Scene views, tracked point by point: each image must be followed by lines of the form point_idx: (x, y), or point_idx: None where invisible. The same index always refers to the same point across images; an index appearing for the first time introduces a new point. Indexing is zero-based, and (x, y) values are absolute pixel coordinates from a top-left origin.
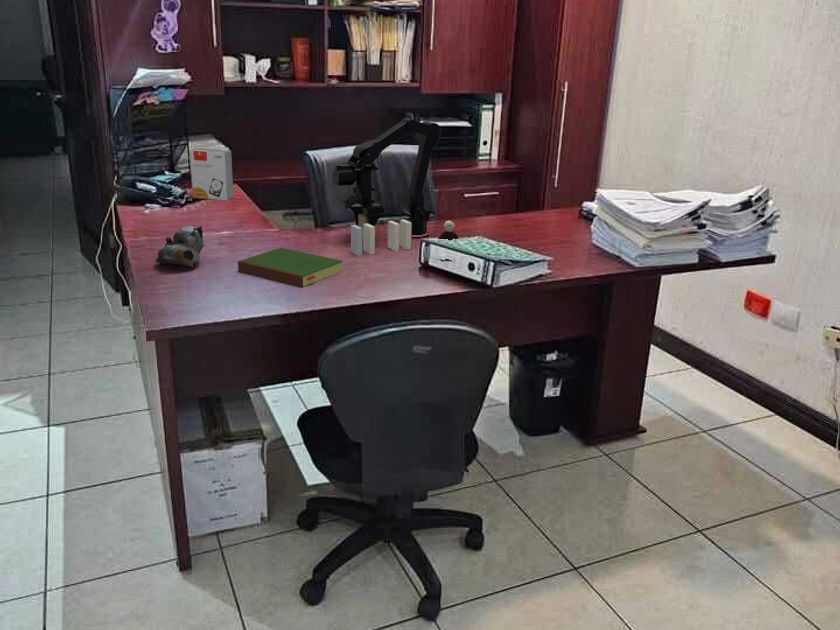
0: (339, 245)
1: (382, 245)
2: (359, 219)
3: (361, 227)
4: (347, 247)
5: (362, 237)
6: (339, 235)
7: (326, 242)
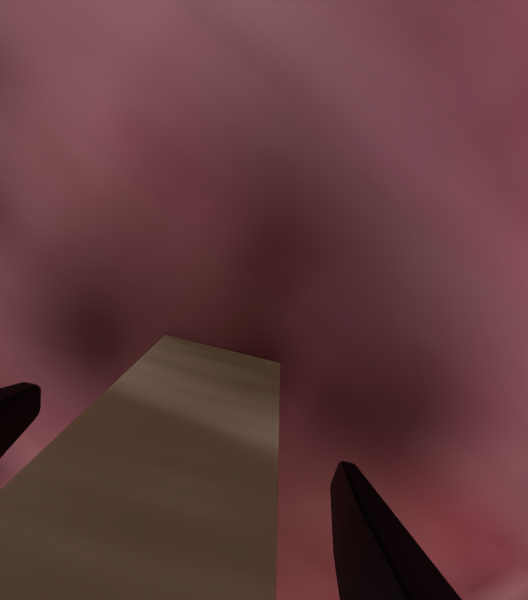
0: (234, 105)
1: (51, 391)
2: (223, 558)
3: (182, 432)
4: (133, 126)
5: (194, 362)
6: (503, 335)
7: (413, 59)
